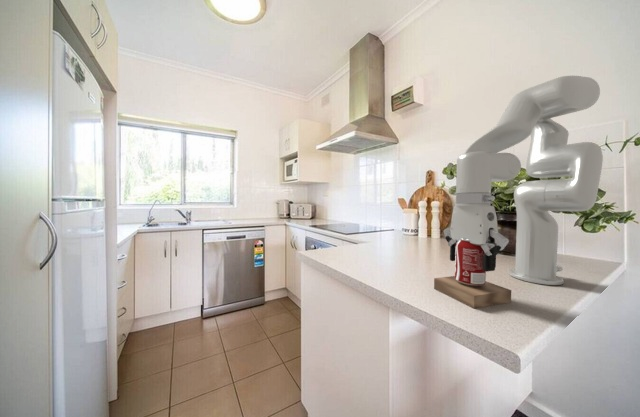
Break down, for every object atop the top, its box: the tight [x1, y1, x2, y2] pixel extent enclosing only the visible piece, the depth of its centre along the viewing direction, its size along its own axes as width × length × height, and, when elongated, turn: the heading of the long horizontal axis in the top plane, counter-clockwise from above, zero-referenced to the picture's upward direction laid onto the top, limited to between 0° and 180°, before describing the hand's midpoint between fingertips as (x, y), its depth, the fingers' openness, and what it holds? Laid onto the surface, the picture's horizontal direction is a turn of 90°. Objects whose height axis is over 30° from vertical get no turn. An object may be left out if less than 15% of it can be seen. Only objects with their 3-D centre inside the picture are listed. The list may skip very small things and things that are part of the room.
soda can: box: [454, 238, 487, 287], centre depth 59 cm, size 7×7×12 cm
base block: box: [433, 275, 512, 309], centre depth 59 cm, size 12×12×3 cm
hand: (470, 265), depth 58 cm, fingers open, 9 cm apart
